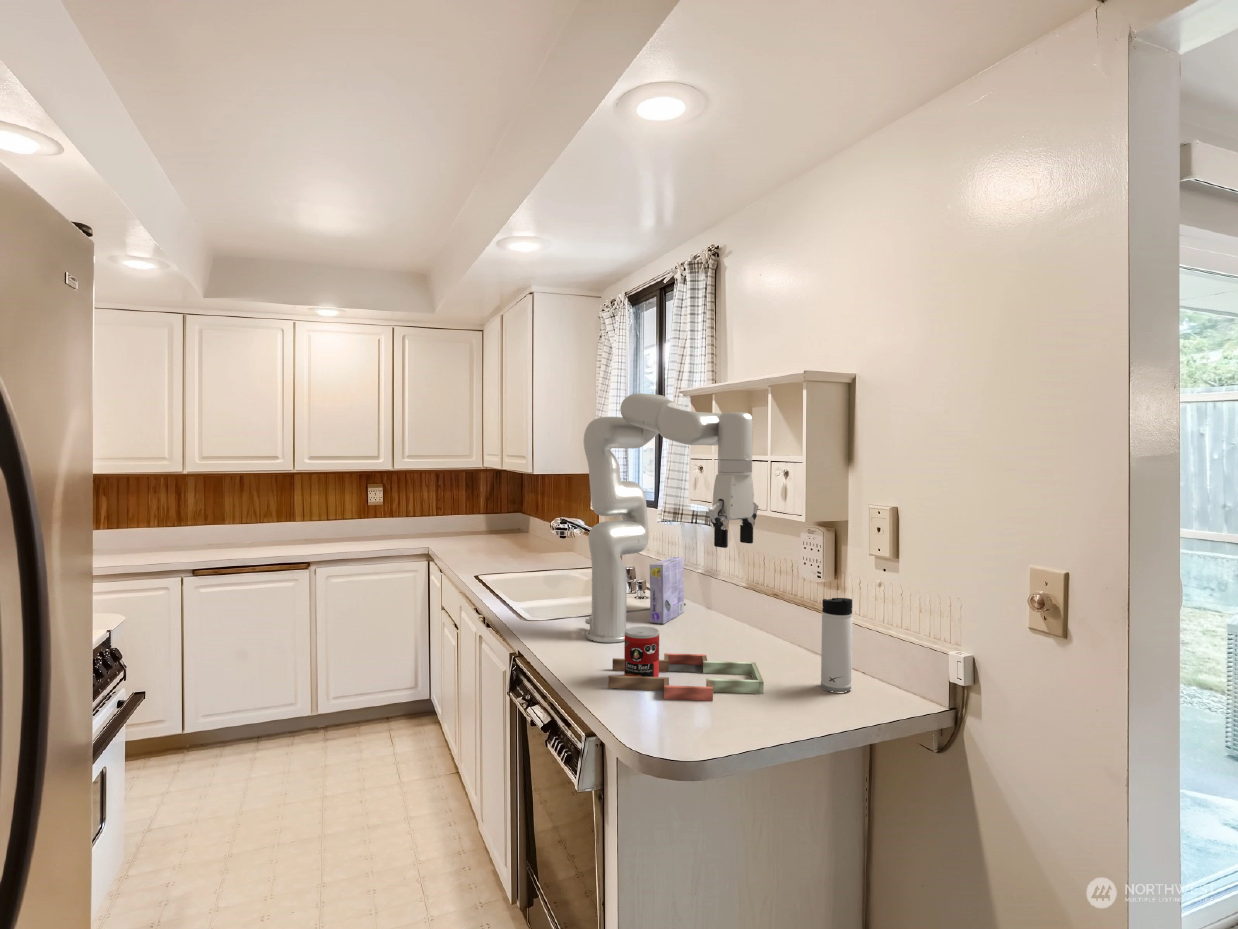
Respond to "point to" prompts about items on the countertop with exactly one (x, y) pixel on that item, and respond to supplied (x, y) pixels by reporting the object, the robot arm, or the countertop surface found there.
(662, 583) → the cake pan box
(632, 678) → the box
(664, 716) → the countertop surface
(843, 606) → the travel mug
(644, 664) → the canned food
